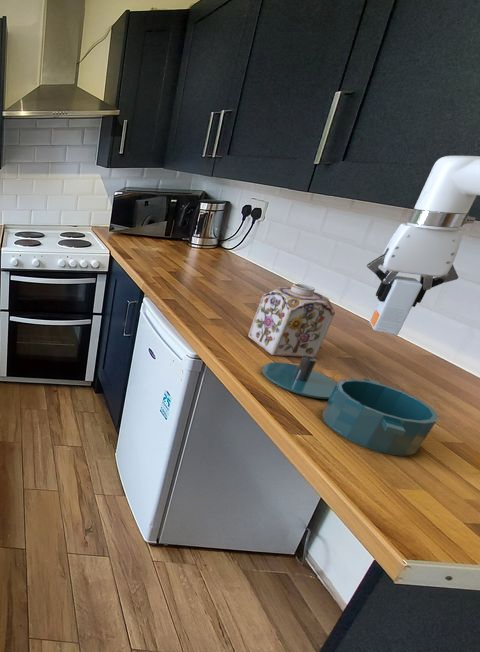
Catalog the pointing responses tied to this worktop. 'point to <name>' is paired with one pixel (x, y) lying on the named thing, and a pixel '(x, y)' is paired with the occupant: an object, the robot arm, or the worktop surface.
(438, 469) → the worktop surface
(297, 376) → the lid
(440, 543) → the worktop surface
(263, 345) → the decorative jar
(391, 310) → the cosmetic box
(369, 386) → the pot
